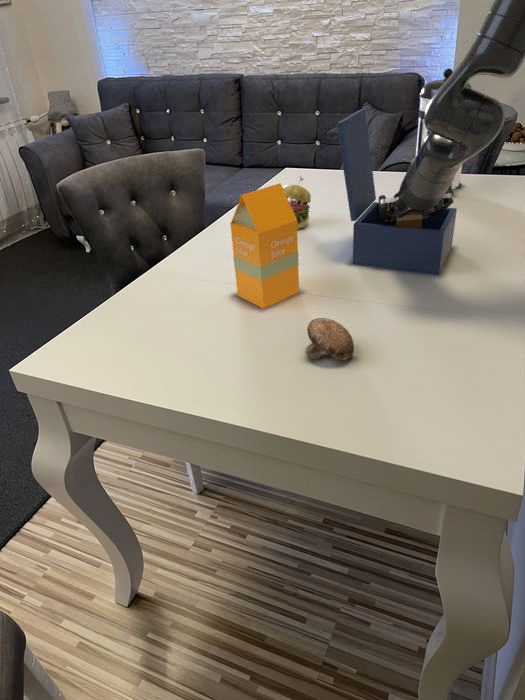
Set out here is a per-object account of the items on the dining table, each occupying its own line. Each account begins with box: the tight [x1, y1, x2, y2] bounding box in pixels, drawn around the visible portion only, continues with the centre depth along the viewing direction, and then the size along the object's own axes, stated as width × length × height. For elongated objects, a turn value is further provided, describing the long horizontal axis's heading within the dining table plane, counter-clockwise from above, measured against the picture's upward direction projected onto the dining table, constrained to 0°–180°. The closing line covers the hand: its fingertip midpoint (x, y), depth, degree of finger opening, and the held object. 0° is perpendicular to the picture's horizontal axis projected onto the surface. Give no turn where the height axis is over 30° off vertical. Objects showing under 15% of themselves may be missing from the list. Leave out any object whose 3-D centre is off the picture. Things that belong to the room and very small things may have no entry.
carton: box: [391, 205, 423, 228], centre depth 106 cm, size 5×5×8 cm
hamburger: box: [282, 175, 312, 231], centre depth 126 cm, size 8×7×12 cm
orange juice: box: [230, 183, 300, 309], centre depth 94 cm, size 8×9×20 cm
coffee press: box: [415, 68, 473, 198], centre depth 137 cm, size 17×16×30 cm
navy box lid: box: [326, 108, 377, 222], centre depth 105 cm, size 18×14×5 cm
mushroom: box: [306, 317, 355, 361], centre depth 80 cm, size 8×8×6 cm
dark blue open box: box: [352, 201, 457, 276], centre depth 108 cm, size 17×14×9 cm
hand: (402, 223), depth 108 cm, fingers closed on carton, 5 cm apart
